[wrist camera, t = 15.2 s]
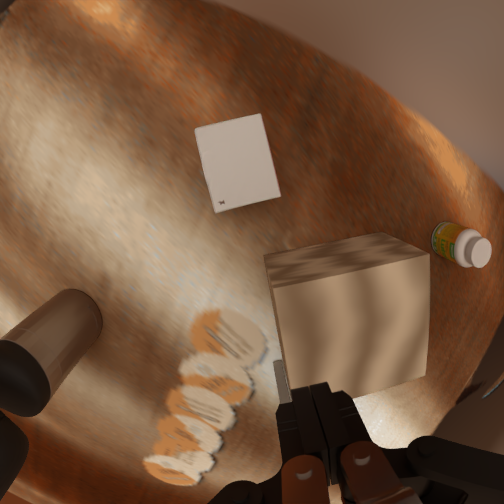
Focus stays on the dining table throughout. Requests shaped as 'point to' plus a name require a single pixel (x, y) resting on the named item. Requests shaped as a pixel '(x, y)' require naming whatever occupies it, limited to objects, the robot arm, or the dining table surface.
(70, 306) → the robot arm
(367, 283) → the cabinet
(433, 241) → the supplement bottle
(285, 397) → the door
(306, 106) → the dining table surface
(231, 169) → the small box
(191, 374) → the dining table surface
